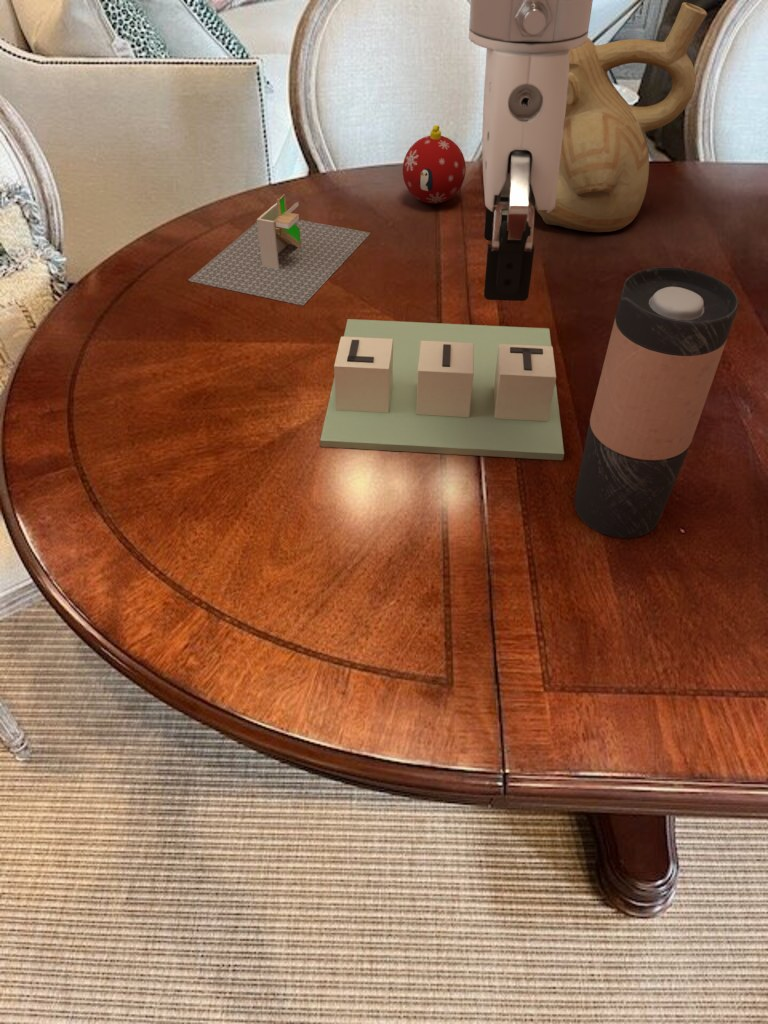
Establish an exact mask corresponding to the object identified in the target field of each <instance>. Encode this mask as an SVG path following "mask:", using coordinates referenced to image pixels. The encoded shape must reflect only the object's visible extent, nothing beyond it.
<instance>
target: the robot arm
mask: <svg viewBox="0 0 768 1024" xmlns="http://www.w3.org/2000/svg"><path fill="white" fill-rule="evenodd" d="M593 1H594V0H470V5H469V8H470V9H469V22H468V23H469V24H468V25H469V26H468V39H469V42H470V43H473V44H474V45H476V46H478V47H481V48H484V49H486V53H485V67H484V68H485V72H484V87H483V102H482V103H483V104H482V105H483V107H482V133H481V134H482V137H481V139H482V140H481V150H482V151H481V152H482V153H481V155H482V179H483V193H484V207H486V208H485V220H484V230H483V231H484V233H483V236H484V239H485V240H486V241H488V242H491V244H487V253H486V264H485V278H484V287H483V290H484V291H483V296H484V299H486V300H487V301H488V300H489V301H510V302H512V301H513V302H524V301H527V300H528V298H529V293H530V286H531V278H532V270H533V263H534V254H535V245H533V244H534V229H535V216H536V215H535V214H536V208H535V201H536V204H537V207H538V210H544V211H545V213H550V212H551V211H552V210H553V209H554V208H555V204H556V194H557V184H558V174H559V165H560V156H561V147H562V139H563V130H564V121H565V112H566V102H567V91H568V79H569V61H570V49H574V48H577V47H580V46H582V45H583V44H584V43H586V41H587V38H589V37H588V36H589V28H590V23H591V22H590V21H591V16H592V8H593Z"/></svg>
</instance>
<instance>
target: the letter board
mask: <svg viewBox="0 0 768 1024" xmlns="http://www.w3.org/2000/svg"><path fill="white" fill-rule="evenodd" d="M343 337H364V338H385V339H393V384H392V392H391V399H390V407H389V413H380V412H361V411H343V410H336V394H335V376H334V377H333V381H332V384H331V385H332V386H331V390H330V396H329V399H328V404H327V408H326V412H325V417H324V421H323V426H322V430H321V435H320V439H319V446H320V447H321V448H336V449H351V450H352V449H353V450H369V451H370V450H372V451H389V452H407V453H421V454H422V453H425V454H442V455H443V454H444V455H456V456H457V455H459V456H477V457H493V458H495V457H496V458H497V457H498V458H513V459H527V460H529V459H530V460H545V461H546V460H547V461H564V458H565V448H564V441H563V431H562V423H561V414H560V406H559V398H558V390H557V381H556V382H555V387H554V392H553V398H552V403H551V408H550V414H549V419H548V421H533V420H514V419H496V418H494V381H495V372H496V364H497V356H498V348H499V344H512V345H533V346H552V340H551V332H550V328H548V327H526V326H524V327H523V326H507V325H505V326H504V325H485V324H483V325H482V324H464V323H463V324H462V323H461V324H460V323H441V322H440V323H439V322H420V321H418V322H417V321H397V320H379V319H378V320H377V319H356V318H355V319H354V318H347V319H346V323H345V329H344V332H343ZM421 341H440V342H461V343H474V374H473V385H472V395H471V405H470V415H469V417H453V416H434V415H417V414H416V406H417V380H418V364H419V354H420V343H421Z"/></svg>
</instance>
